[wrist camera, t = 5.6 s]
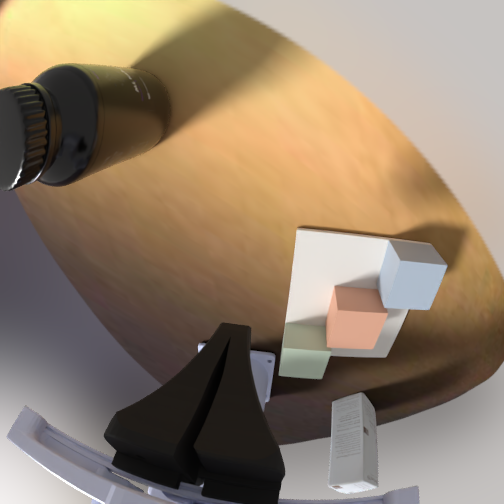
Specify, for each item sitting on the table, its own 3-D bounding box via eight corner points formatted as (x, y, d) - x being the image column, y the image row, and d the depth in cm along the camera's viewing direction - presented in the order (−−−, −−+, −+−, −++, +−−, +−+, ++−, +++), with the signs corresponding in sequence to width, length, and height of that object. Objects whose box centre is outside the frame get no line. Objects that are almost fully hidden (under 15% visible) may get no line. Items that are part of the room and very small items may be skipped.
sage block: (321, 355, 26) (321, 379, 23) (281, 351, 26) (278, 375, 24) (329, 326, 24) (331, 351, 21) (285, 322, 24) (283, 347, 22)
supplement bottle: (180, 69, 16) (50, 50, 5) (167, 160, 19) (49, 228, 9) (103, 71, 16) (-26, 80, 6) (96, 151, 20) (-22, 204, 9)
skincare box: (376, 408, 31) (382, 487, 20) (346, 417, 32) (346, 494, 22) (361, 389, 29) (367, 481, 18) (328, 400, 31) (326, 488, 20)
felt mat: (385, 354, 25) (385, 357, 25) (281, 348, 27) (281, 351, 26) (430, 243, 19) (432, 245, 19) (297, 227, 20) (297, 229, 20)
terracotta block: (367, 324, 23) (372, 349, 21) (325, 322, 24) (326, 347, 21) (380, 289, 21) (388, 313, 19) (334, 285, 22) (337, 310, 19)
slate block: (417, 287, 21) (428, 309, 18) (376, 284, 21) (384, 307, 19) (432, 245, 19) (447, 265, 16) (388, 239, 19) (400, 260, 17)
